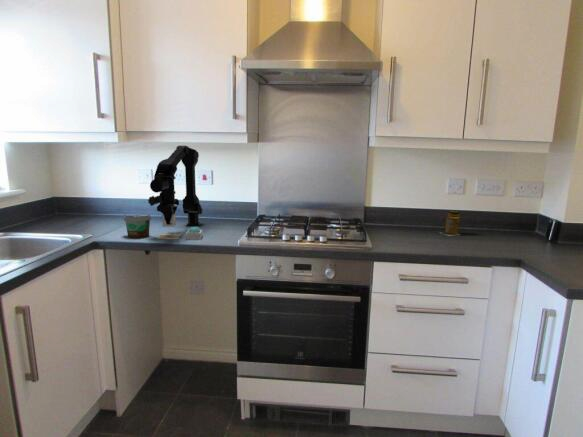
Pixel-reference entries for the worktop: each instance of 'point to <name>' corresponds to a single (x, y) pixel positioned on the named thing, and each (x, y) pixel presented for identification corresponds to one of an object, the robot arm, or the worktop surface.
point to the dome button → (194, 230)
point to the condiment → (452, 224)
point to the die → (172, 222)
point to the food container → (137, 226)
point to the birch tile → (169, 236)
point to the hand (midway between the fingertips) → (169, 223)
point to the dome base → (194, 235)
